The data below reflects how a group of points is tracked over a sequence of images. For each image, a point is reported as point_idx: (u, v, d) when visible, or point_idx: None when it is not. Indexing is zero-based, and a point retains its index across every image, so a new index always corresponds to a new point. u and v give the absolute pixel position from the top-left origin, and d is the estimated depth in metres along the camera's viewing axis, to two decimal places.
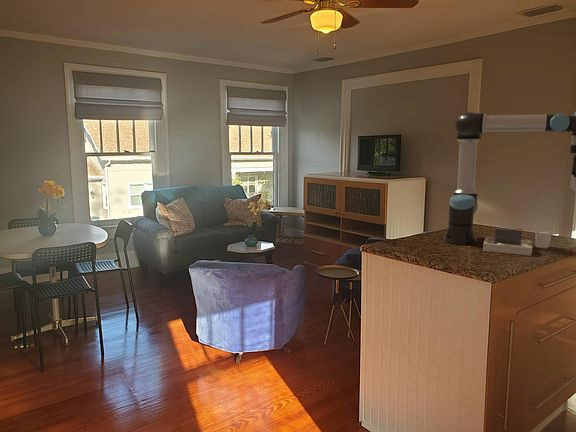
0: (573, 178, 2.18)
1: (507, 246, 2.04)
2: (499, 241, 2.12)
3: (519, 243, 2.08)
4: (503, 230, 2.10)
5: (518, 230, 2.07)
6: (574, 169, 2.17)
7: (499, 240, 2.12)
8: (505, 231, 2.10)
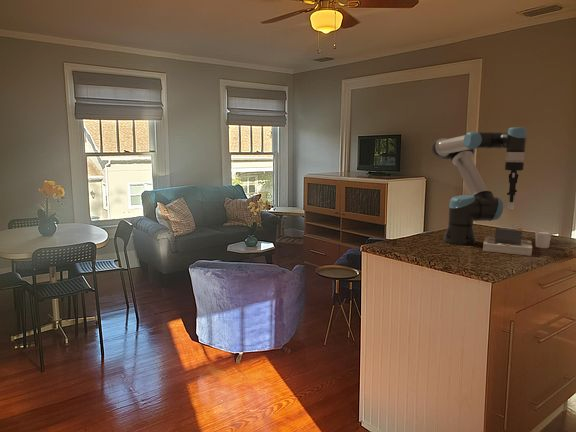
0: None
1: (507, 246, 2.04)
2: (499, 241, 2.12)
3: (519, 243, 2.08)
4: (503, 230, 2.10)
5: (518, 230, 2.07)
6: None
7: (499, 240, 2.12)
8: (505, 231, 2.10)
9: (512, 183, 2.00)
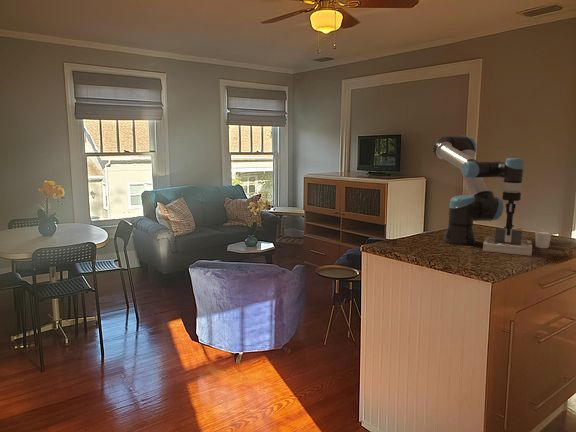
0: None
1: (507, 246, 2.04)
2: (499, 241, 2.12)
3: (519, 243, 2.08)
4: (503, 230, 2.10)
5: (518, 230, 2.07)
6: None
7: (499, 240, 2.12)
8: None
9: (509, 218, 2.05)
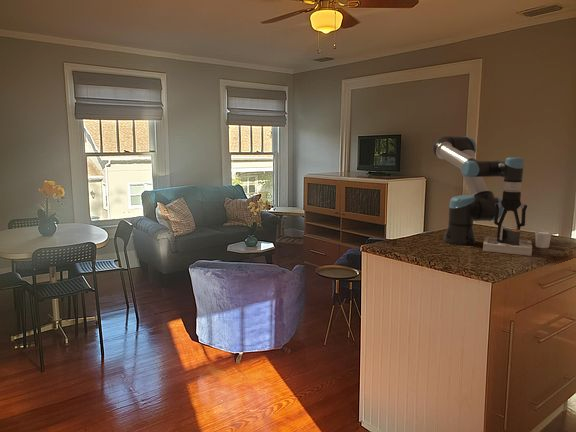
0: None
1: (507, 246, 2.04)
2: (499, 240, 2.14)
3: (512, 244, 2.06)
4: None
5: (512, 230, 2.06)
6: (515, 218, 2.10)
7: (499, 239, 2.15)
8: (503, 230, 2.12)
9: (495, 214, 2.12)
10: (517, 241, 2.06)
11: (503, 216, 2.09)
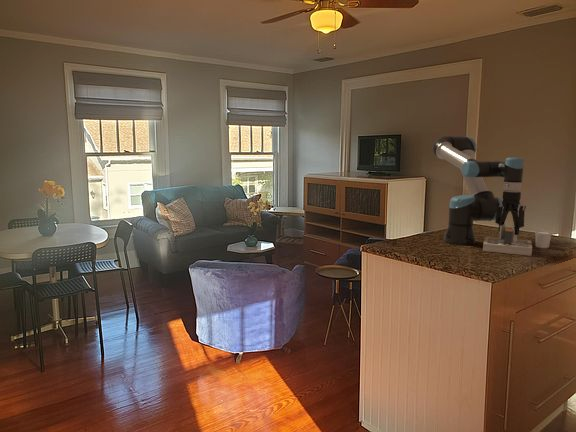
0: None
1: (507, 246, 2.04)
2: (504, 239, 2.15)
3: (504, 243, 2.08)
4: (505, 229, 2.13)
5: (505, 230, 2.08)
6: None
7: (504, 238, 2.15)
8: None
9: None
10: (509, 241, 2.06)
11: (502, 215, 2.11)
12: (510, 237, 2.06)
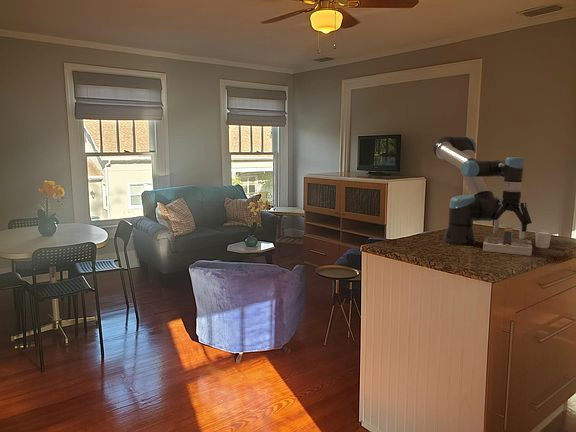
0: None
1: (507, 246, 2.04)
2: None
3: (503, 243, 2.08)
4: (505, 229, 2.13)
5: None
6: None
7: None
8: None
9: None
10: (508, 241, 2.06)
11: (498, 212, 2.13)
12: (509, 237, 2.06)
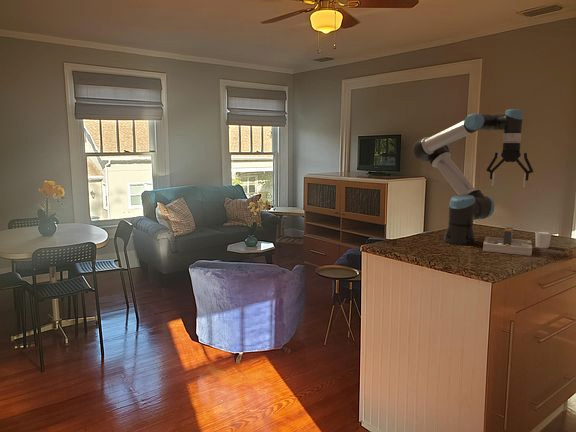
0: None
1: (507, 246, 2.04)
2: None
3: (503, 243, 2.08)
4: (505, 229, 2.13)
5: None
6: (521, 167, 2.14)
7: None
8: None
9: None
10: (508, 241, 2.06)
11: (498, 165, 2.17)
12: (509, 237, 2.06)
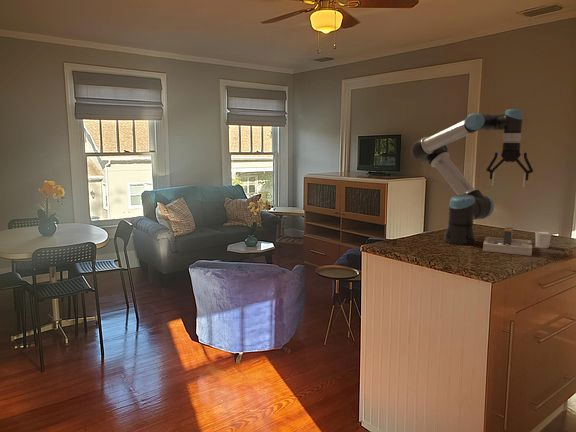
0: None
1: (507, 246, 2.04)
2: None
3: (503, 243, 2.08)
4: (505, 229, 2.13)
5: None
6: (521, 167, 2.15)
7: None
8: None
9: (491, 161, 2.20)
10: (508, 241, 2.06)
11: (498, 164, 2.18)
12: (509, 237, 2.06)
